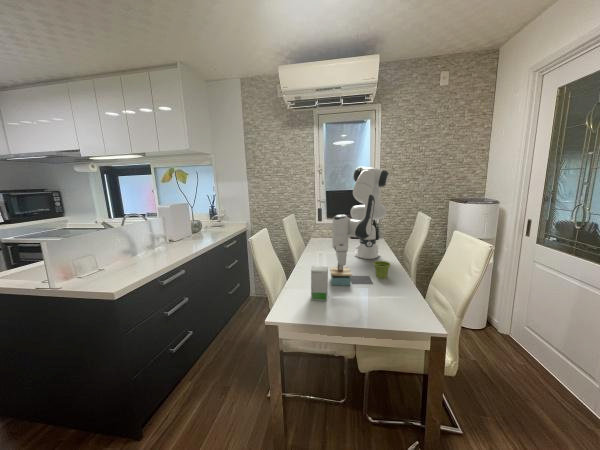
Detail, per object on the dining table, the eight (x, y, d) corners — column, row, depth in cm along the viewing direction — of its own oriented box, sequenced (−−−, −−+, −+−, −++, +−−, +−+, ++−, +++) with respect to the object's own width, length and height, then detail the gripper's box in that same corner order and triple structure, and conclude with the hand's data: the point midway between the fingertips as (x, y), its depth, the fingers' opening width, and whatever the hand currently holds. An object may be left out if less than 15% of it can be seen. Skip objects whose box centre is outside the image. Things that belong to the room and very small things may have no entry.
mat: (348, 276, 151) (348, 275, 151) (369, 276, 151) (369, 275, 150) (351, 285, 140) (351, 284, 140) (373, 285, 139) (373, 284, 139)
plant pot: (391, 281, 143) (391, 266, 142) (373, 280, 145) (374, 265, 144) (388, 274, 152) (389, 261, 151) (372, 274, 154) (372, 260, 153)
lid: (330, 268, 148) (330, 260, 147) (348, 268, 147) (349, 260, 146) (331, 276, 137) (331, 266, 136) (351, 276, 136) (351, 266, 135)
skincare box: (310, 300, 124) (310, 270, 121) (312, 294, 130) (311, 265, 127) (327, 301, 122) (327, 271, 120) (328, 295, 129) (327, 266, 126)
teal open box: (331, 279, 148) (330, 271, 147) (348, 279, 148) (348, 271, 147) (332, 286, 138) (332, 278, 137) (350, 286, 138) (350, 278, 137)
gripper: (333, 239, 149) (333, 261, 152) (336, 249, 129) (336, 274, 132) (343, 239, 149) (344, 261, 151) (348, 249, 129) (348, 274, 131)
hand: (340, 267), depth 141 cm, fingers closed on lid, 3 cm apart
